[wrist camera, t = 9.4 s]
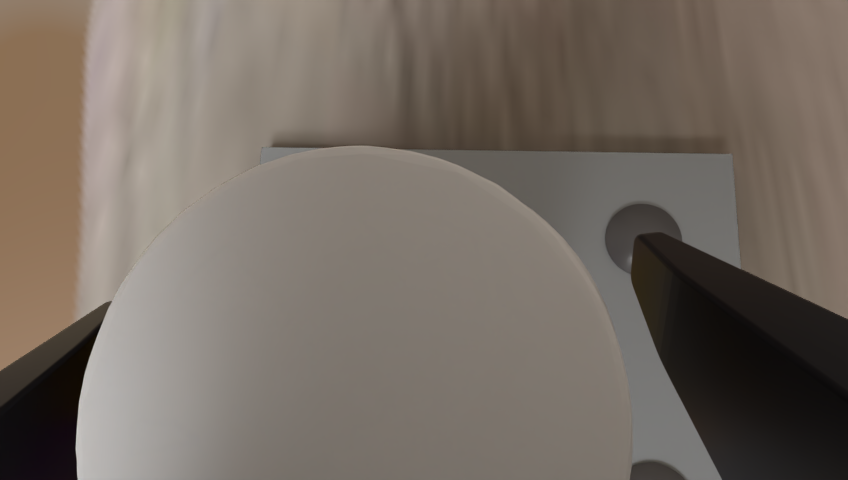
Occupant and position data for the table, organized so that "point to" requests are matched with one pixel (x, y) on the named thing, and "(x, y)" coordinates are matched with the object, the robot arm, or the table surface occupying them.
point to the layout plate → (623, 258)
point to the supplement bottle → (356, 336)
